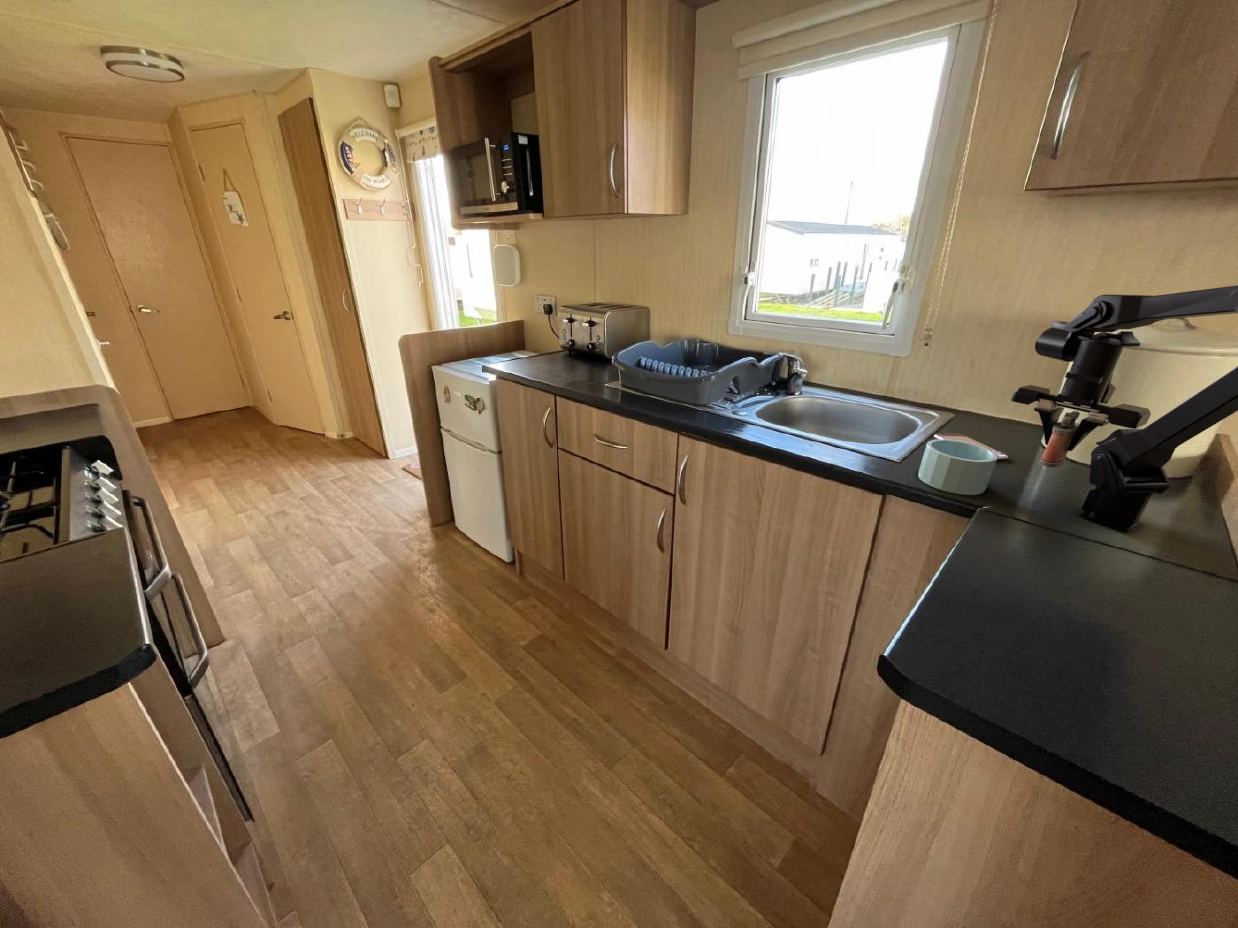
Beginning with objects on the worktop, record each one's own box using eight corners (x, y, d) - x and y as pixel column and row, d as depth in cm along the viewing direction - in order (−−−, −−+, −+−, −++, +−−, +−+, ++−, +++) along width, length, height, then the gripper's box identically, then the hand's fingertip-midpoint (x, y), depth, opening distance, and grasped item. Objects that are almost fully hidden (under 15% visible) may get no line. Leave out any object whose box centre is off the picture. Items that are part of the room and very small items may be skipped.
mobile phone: (959, 432, 122) (1011, 455, 108) (958, 435, 122) (1009, 459, 109) (932, 433, 121) (980, 456, 107) (931, 436, 121) (979, 460, 108)
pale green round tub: (996, 486, 96) (1009, 454, 93) (966, 500, 91) (978, 466, 88) (937, 465, 105) (946, 435, 102) (906, 476, 100) (915, 445, 97)
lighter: (1056, 469, 92) (1077, 419, 88) (1034, 463, 94) (1054, 414, 90) (1069, 459, 96) (1090, 411, 92) (1048, 454, 99) (1067, 407, 95)
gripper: (1179, 374, 84) (1138, 456, 90) (1050, 354, 99) (1022, 426, 105) (1157, 381, 79) (1115, 468, 85) (1024, 359, 93) (997, 435, 100)
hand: (1058, 447), depth 94 cm, fingers closed on lighter, 3 cm apart
